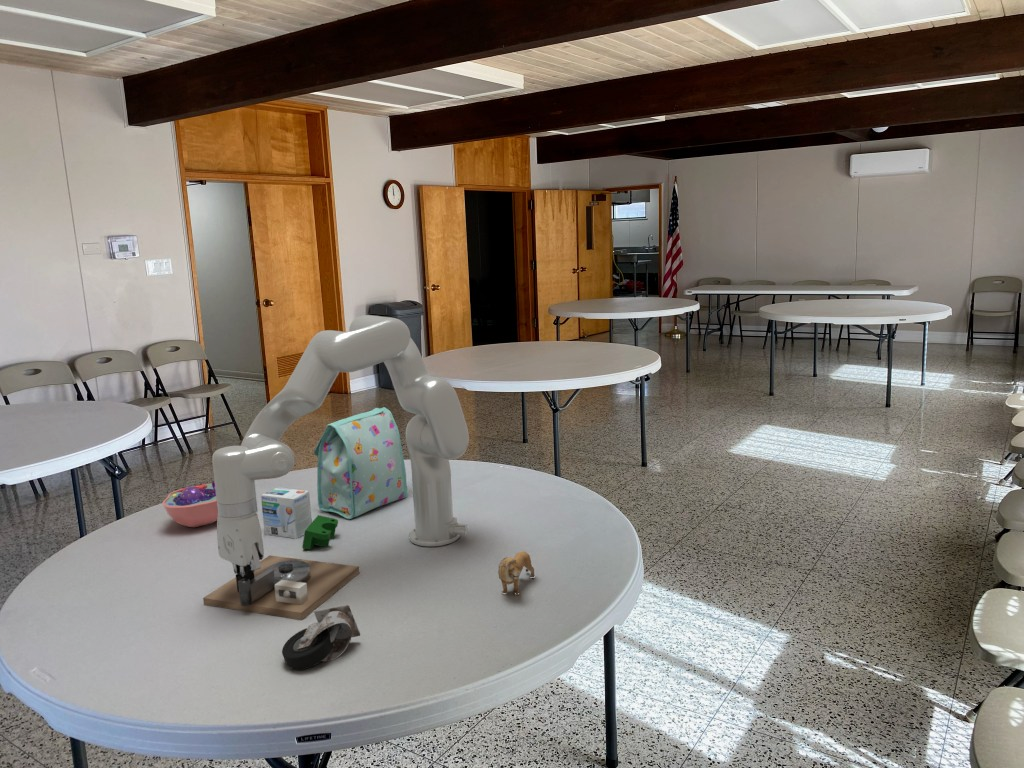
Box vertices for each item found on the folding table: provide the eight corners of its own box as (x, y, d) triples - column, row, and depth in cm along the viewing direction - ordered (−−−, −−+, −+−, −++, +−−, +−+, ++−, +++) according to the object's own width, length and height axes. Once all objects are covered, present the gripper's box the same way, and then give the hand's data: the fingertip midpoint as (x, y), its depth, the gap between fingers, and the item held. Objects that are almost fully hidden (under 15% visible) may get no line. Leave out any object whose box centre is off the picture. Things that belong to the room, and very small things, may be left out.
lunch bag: (373, 488, 225) (367, 402, 220) (413, 497, 215) (407, 407, 210) (313, 512, 207) (304, 418, 202) (353, 523, 197) (345, 425, 192)
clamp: (324, 563, 182) (325, 540, 178) (302, 559, 182) (302, 535, 178) (338, 531, 191) (340, 508, 187) (317, 526, 191) (318, 503, 187)
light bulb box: (263, 534, 192) (259, 494, 190) (280, 525, 198) (276, 486, 196) (297, 539, 188) (293, 498, 186) (313, 529, 194) (310, 490, 192)
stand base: (359, 572, 167) (357, 551, 166) (301, 620, 146) (299, 596, 145) (270, 561, 175) (268, 541, 174) (203, 605, 154) (200, 582, 153)
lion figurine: (519, 605, 149) (518, 563, 148) (494, 602, 151) (492, 560, 149) (538, 573, 163) (536, 535, 162) (514, 571, 165) (513, 533, 163)
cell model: (249, 510, 210) (245, 472, 208) (209, 538, 191) (204, 496, 189) (195, 508, 213) (190, 471, 211) (150, 535, 194) (144, 494, 192)
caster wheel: (284, 683, 130) (303, 644, 140) (346, 672, 128) (361, 633, 138) (270, 651, 128) (290, 614, 137) (333, 640, 126) (349, 602, 136)
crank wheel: (283, 566, 168) (281, 544, 167) (319, 572, 164) (317, 549, 163) (223, 603, 151) (220, 579, 150) (262, 611, 147) (259, 586, 146)
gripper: (200, 505, 152) (210, 588, 156) (241, 519, 143) (251, 607, 147) (233, 495, 158) (242, 575, 162) (275, 508, 149) (283, 593, 153)
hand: (246, 590), depth 154 cm, fingers closed
